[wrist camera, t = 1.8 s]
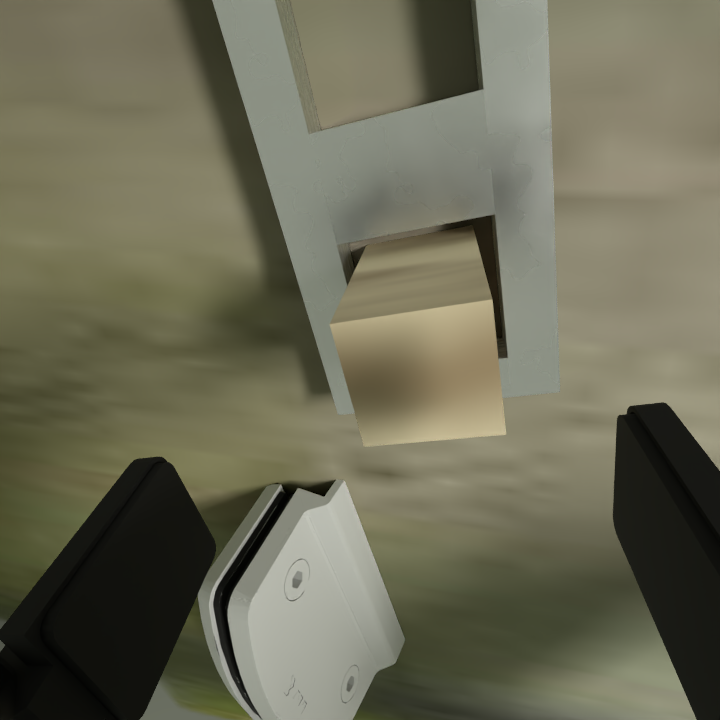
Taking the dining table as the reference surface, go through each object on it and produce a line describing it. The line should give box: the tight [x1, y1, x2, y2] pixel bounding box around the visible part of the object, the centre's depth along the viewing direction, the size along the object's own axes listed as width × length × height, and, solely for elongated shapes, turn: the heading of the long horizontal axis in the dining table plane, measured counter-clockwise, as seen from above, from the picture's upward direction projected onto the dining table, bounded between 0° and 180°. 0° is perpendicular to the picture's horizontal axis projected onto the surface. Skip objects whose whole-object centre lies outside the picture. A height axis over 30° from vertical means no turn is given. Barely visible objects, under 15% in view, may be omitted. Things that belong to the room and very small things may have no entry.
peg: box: [330, 225, 506, 447], centre depth 17 cm, size 4×4×8 cm
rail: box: [212, 0, 560, 415], centre depth 15 cm, size 30×10×2 cm, turn 13°
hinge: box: [198, 480, 405, 720], centre depth 28 cm, size 17×5×10 cm, turn 16°
